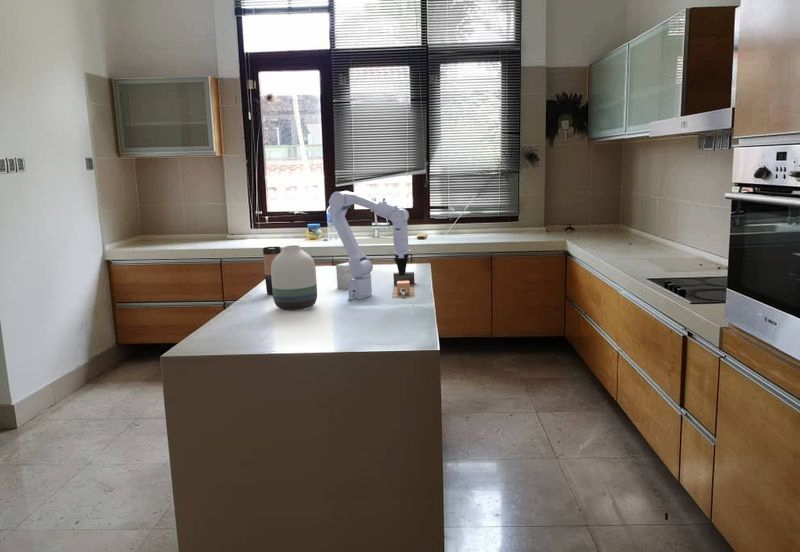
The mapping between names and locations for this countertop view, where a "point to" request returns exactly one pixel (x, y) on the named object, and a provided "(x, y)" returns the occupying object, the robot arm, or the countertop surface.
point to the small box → (343, 275)
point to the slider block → (403, 286)
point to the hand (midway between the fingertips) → (402, 273)
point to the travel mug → (269, 265)
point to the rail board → (403, 292)
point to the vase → (293, 279)
